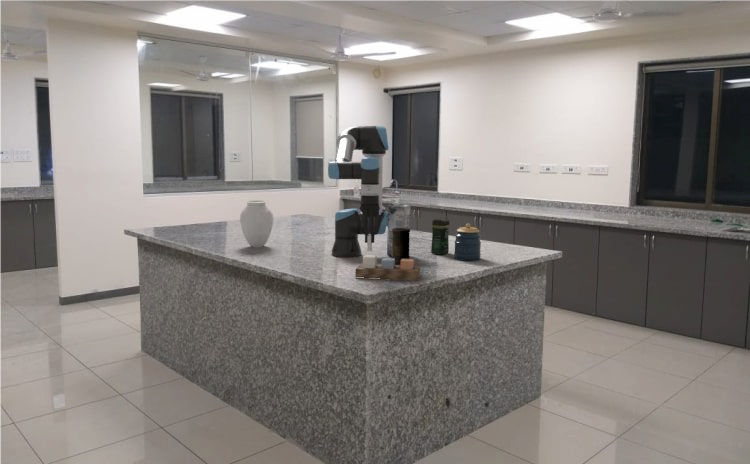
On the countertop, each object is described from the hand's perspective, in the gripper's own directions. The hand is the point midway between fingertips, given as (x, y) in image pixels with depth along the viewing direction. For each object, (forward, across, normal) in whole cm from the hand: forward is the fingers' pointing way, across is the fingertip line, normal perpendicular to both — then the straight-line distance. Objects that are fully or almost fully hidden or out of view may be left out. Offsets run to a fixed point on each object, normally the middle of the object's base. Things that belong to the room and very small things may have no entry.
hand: (369, 250), depth 243 cm
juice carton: (+11, +6, +50) cm, 52 cm away
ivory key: (+9, 0, 0) cm, 9 cm away
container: (+11, +11, +19) cm, 25 cm away
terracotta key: (+10, +16, 0) cm, 19 cm away
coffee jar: (+11, +27, +60) cm, 67 cm away
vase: (+11, -73, +61) cm, 96 cm away
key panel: (+11, +8, 0) cm, 14 cm away
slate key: (+10, +8, 0) cm, 13 cm away
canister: (+11, +41, +48) cm, 64 cm away
